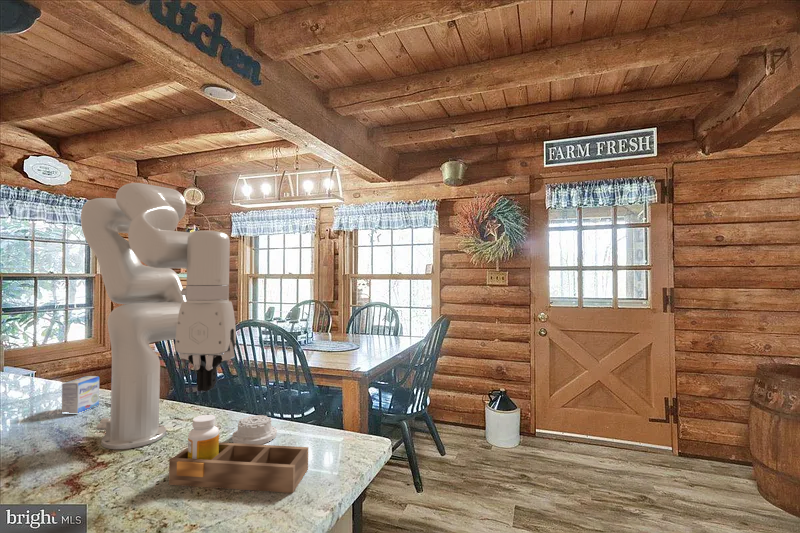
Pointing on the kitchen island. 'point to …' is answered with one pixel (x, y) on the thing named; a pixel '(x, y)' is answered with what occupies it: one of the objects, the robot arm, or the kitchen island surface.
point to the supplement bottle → (203, 438)
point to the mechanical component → (254, 430)
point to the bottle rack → (243, 468)
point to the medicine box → (80, 394)
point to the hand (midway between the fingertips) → (206, 389)
